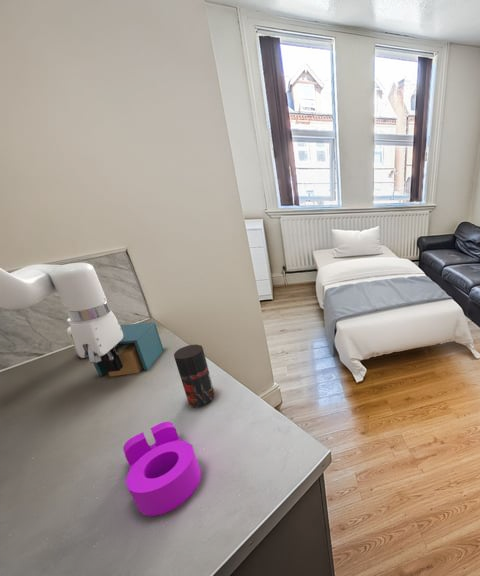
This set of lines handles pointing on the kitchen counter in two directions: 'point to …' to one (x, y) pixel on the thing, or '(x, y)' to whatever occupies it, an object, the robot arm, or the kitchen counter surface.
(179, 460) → the magenta ring bracket
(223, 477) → the kitchen counter surface
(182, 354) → the deodorant
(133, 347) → the box
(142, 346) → the shelf
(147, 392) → the kitchen counter surface
